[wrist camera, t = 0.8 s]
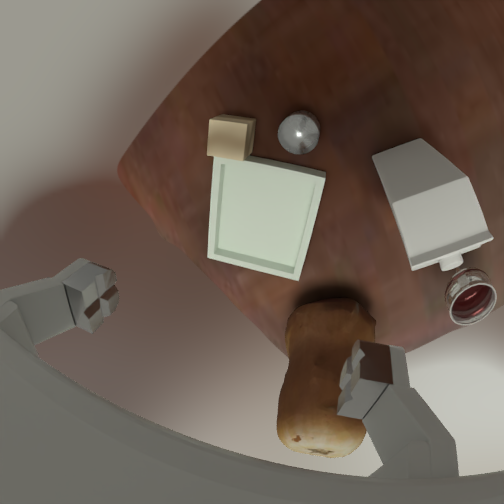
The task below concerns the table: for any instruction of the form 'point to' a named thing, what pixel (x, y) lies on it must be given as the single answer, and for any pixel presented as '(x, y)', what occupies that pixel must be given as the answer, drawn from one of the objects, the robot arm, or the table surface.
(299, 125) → the grey rounded cylinder
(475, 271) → the wineglass
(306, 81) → the table surface
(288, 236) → the tray
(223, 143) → the beech block
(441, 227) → the milk carton
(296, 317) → the butternut squash
